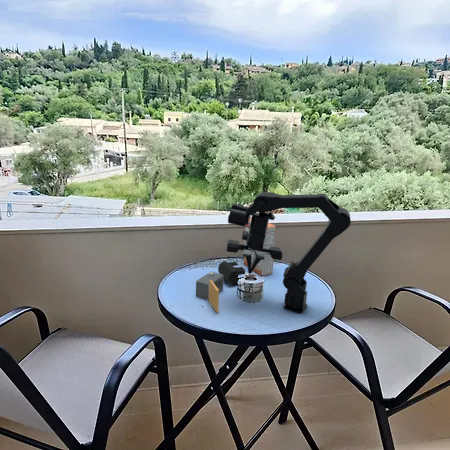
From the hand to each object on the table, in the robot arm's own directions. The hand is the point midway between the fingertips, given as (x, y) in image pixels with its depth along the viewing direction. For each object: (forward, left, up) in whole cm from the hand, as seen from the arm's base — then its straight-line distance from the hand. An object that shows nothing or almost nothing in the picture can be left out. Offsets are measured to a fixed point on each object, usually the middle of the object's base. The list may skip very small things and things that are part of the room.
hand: (249, 273), depth 146 cm
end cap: (+14, -12, -12) cm, 22 cm away
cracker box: (+10, -28, -12) cm, 32 cm away
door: (+9, +9, -11) cm, 17 cm away
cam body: (+15, +1, -11) cm, 19 cm away
